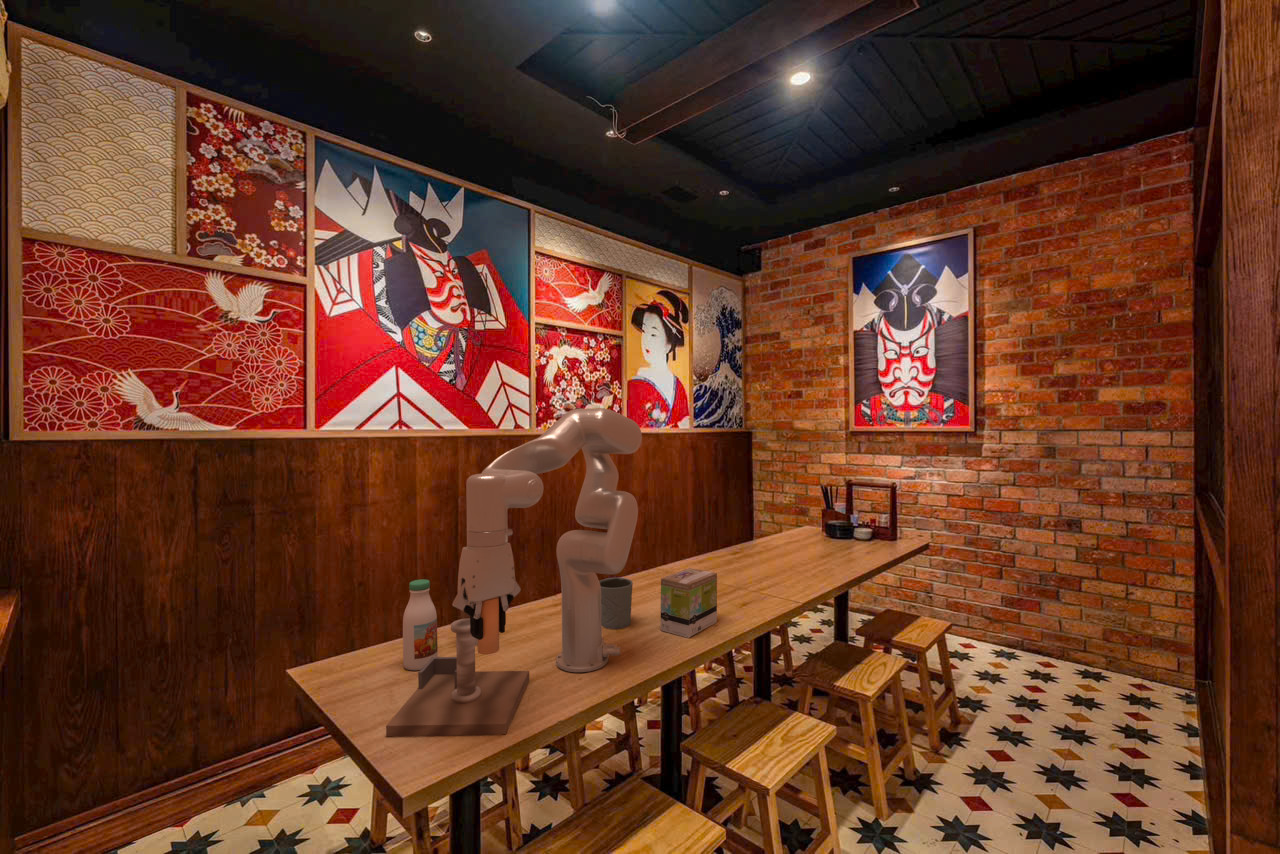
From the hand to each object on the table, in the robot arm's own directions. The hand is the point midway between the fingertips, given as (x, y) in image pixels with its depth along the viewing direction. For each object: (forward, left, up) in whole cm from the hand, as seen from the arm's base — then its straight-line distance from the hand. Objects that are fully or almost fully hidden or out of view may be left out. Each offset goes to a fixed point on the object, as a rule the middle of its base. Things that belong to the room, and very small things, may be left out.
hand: (488, 633), depth 104 cm
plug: (0, 0, -3) cm, 3 cm away
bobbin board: (+7, -8, -17) cm, 20 cm away
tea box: (-43, -50, -18) cm, 68 cm away
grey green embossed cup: (-22, -53, -18) cm, 60 cm away
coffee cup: (+15, -42, -18) cm, 48 cm away
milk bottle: (+24, -28, -18) cm, 41 cm away
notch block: (+14, -14, -15) cm, 25 cm away
